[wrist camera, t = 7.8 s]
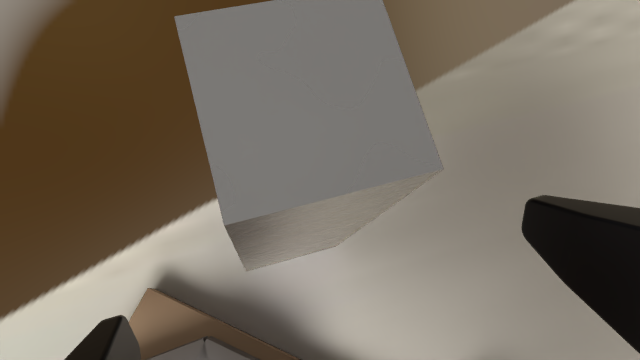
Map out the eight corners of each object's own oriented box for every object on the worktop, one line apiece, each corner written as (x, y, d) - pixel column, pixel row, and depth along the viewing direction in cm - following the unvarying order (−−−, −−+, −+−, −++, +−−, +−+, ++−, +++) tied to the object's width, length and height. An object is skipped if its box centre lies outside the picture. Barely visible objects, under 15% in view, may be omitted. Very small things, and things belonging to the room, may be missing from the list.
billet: (336, 246, 21) (443, 169, 9) (246, 271, 20) (223, 225, 8) (311, 161, 22) (376, -17, 10) (224, 182, 21) (174, 16, 9)
